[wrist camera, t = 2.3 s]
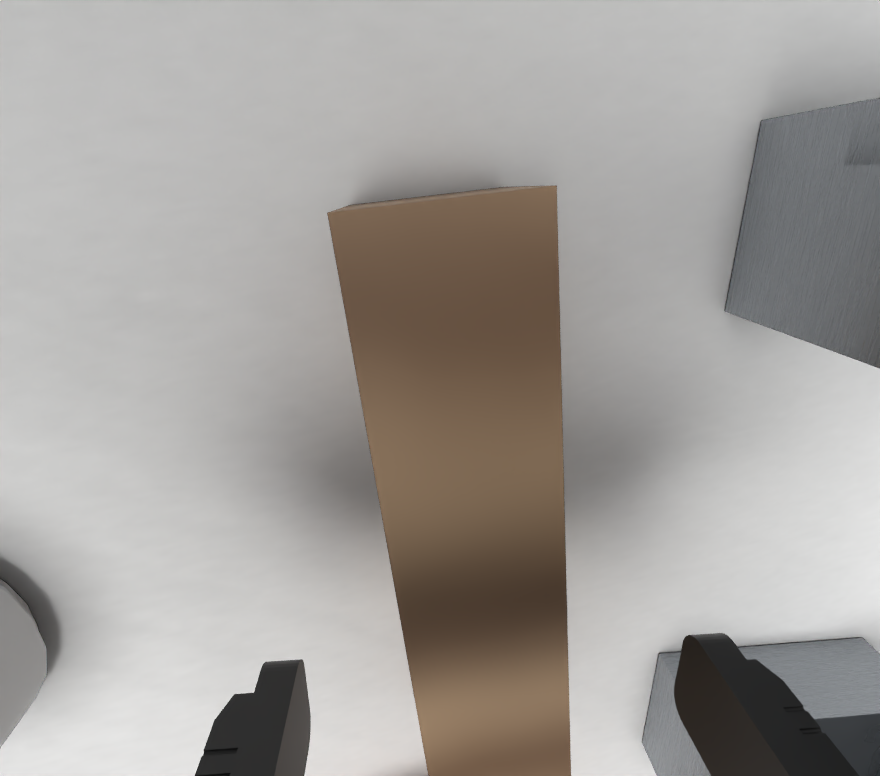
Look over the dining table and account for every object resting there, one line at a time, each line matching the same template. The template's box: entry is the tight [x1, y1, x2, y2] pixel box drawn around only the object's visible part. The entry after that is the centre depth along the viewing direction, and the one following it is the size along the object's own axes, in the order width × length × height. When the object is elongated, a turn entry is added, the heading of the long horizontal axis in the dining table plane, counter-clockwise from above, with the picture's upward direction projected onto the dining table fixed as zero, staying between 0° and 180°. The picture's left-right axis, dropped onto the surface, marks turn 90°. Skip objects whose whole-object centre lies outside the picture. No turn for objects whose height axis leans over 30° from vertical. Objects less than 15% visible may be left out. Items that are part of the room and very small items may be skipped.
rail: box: [327, 186, 571, 776], centre depth 15 cm, size 18×4×5 cm, turn 6°
